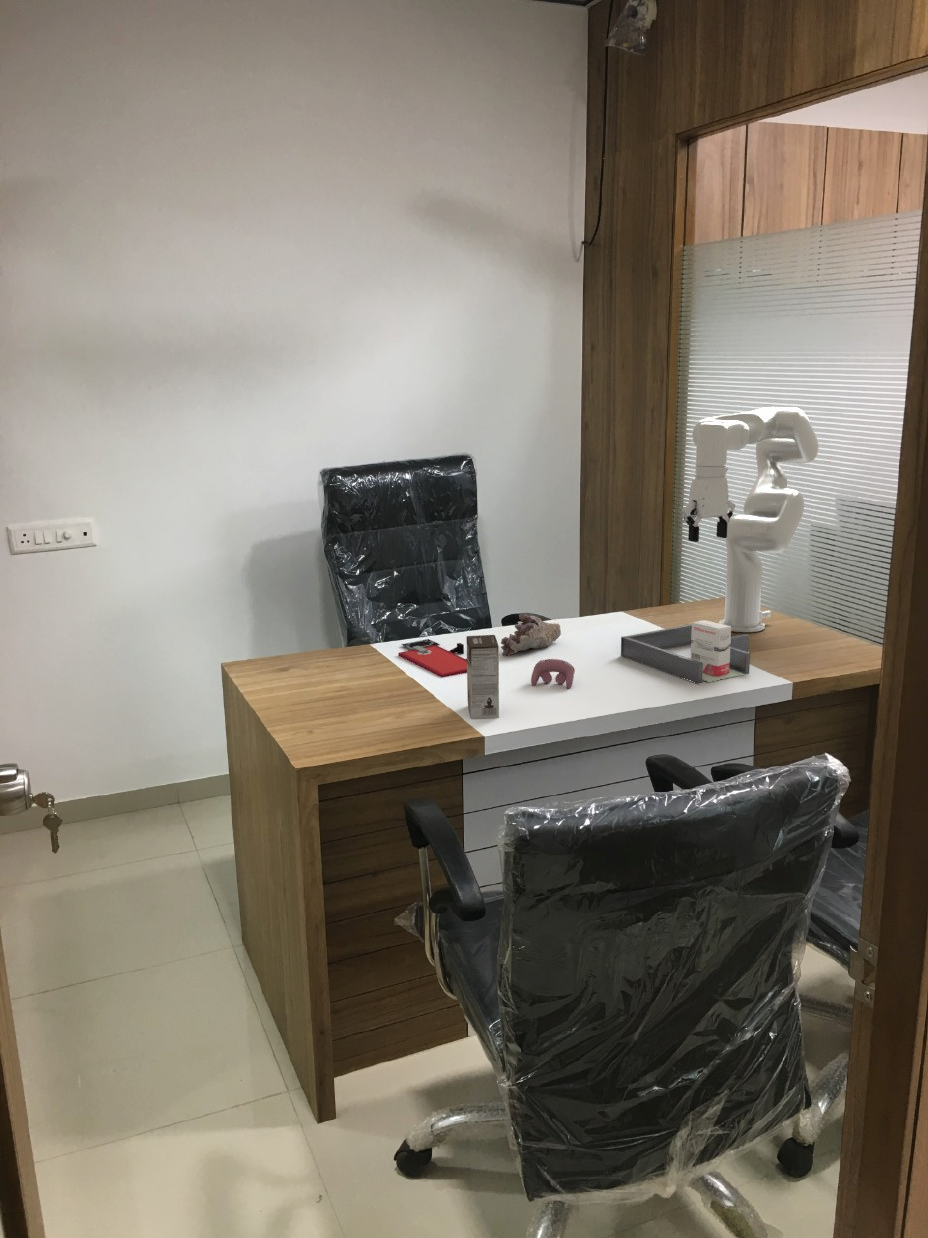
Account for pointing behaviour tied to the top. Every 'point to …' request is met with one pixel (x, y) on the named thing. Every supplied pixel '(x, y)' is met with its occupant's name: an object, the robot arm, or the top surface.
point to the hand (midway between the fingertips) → (707, 539)
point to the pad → (712, 678)
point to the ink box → (711, 646)
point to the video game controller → (553, 665)
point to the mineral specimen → (530, 635)
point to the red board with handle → (436, 657)
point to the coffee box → (483, 676)
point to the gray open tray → (652, 654)
